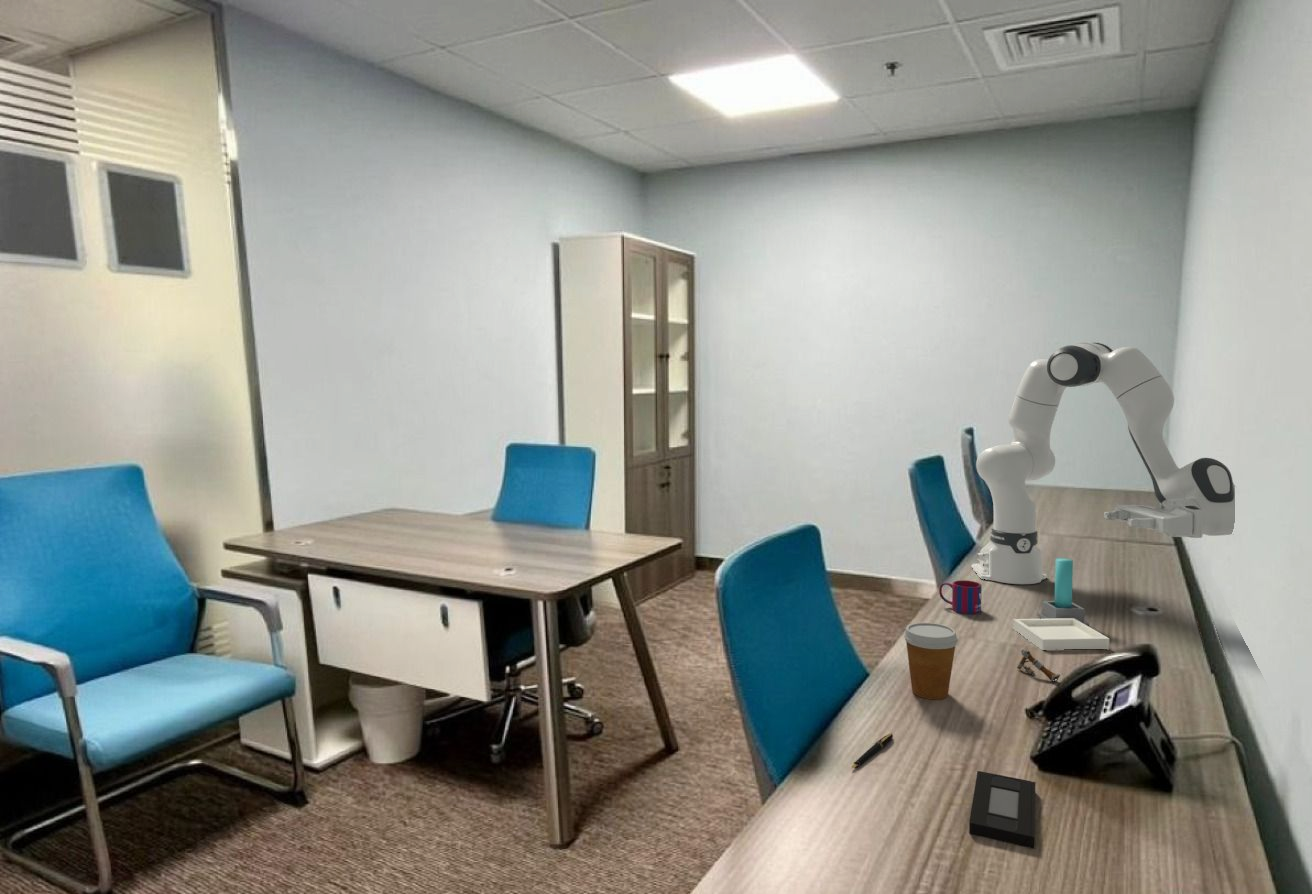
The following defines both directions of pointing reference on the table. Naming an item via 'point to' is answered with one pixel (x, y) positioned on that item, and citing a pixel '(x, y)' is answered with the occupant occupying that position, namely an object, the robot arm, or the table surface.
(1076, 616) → the holder
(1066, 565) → the dowel
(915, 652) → the disposable coffee cup
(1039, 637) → the tray
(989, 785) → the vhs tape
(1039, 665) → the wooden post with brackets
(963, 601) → the cup
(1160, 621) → the table surface
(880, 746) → the fountain pen
